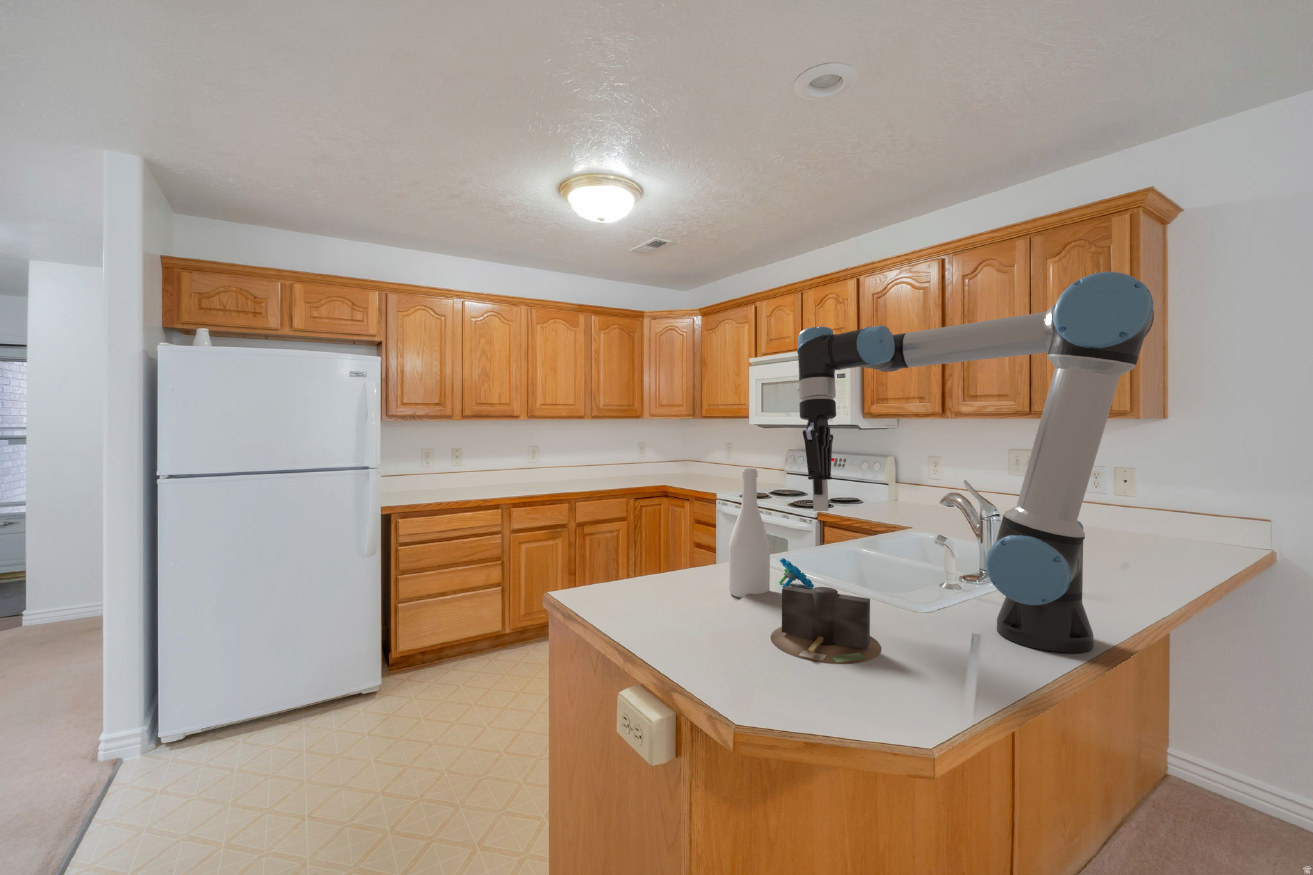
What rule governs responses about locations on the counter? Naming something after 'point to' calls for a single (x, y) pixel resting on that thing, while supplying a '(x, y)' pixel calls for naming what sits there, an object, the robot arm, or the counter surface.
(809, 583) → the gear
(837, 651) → the dial
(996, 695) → the counter surface
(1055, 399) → the robot arm
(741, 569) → the wine bottle
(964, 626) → the counter surface
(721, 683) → the counter surface
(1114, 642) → the counter surface
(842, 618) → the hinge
